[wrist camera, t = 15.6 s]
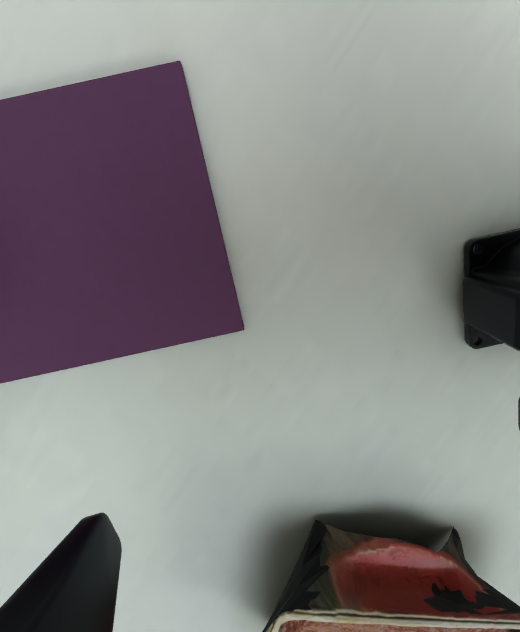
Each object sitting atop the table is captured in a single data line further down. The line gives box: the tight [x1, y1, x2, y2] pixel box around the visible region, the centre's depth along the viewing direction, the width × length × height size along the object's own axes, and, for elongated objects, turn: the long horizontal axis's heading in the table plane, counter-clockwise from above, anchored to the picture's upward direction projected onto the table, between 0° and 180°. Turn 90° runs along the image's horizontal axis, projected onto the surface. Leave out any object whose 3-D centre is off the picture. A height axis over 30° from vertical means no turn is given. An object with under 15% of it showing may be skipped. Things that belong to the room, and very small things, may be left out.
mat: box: [0, 61, 244, 383], centre depth 18 cm, size 20×13×1 cm, turn 102°
